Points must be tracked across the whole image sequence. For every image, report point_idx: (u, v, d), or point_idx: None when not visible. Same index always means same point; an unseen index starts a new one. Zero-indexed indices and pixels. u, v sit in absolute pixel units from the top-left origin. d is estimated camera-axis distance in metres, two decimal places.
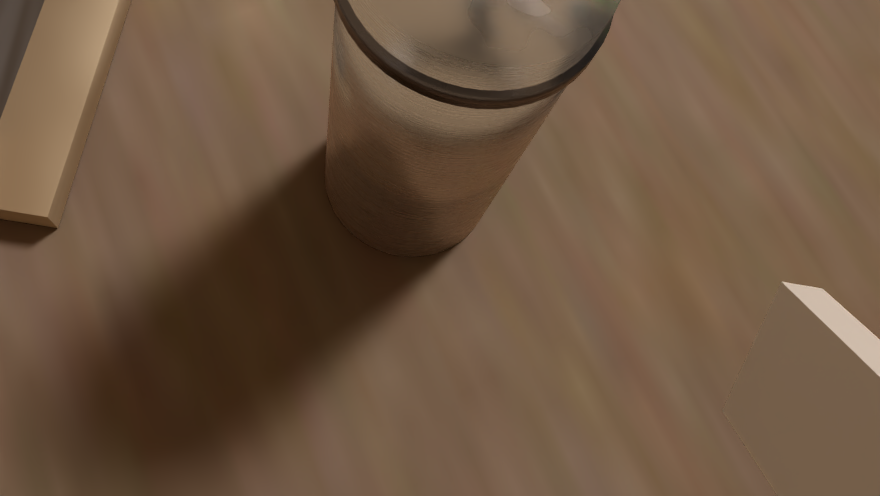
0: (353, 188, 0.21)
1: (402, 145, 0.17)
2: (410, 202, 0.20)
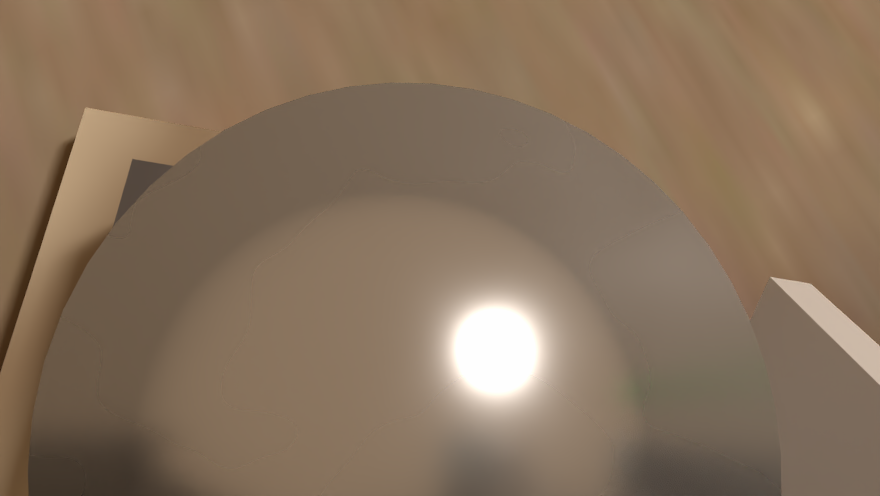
0: None
1: None
2: None
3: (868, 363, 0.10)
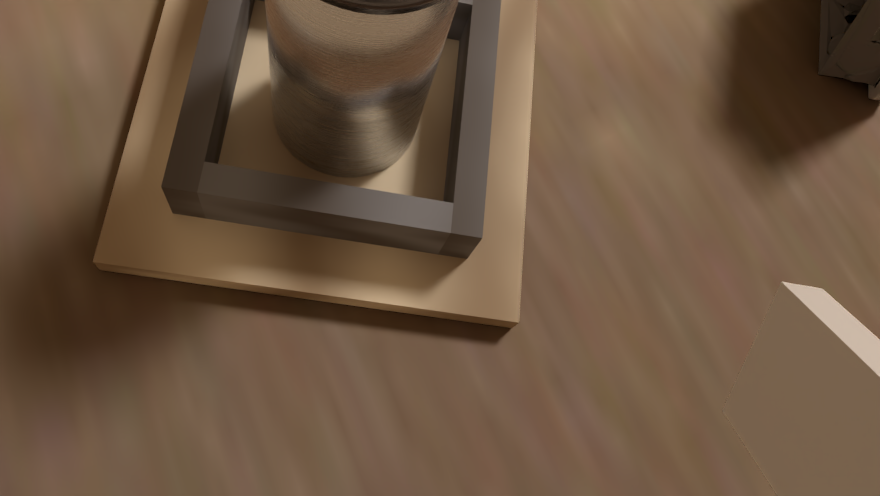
0: (291, 108, 0.25)
1: (321, 56, 0.21)
2: (338, 116, 0.24)
3: None
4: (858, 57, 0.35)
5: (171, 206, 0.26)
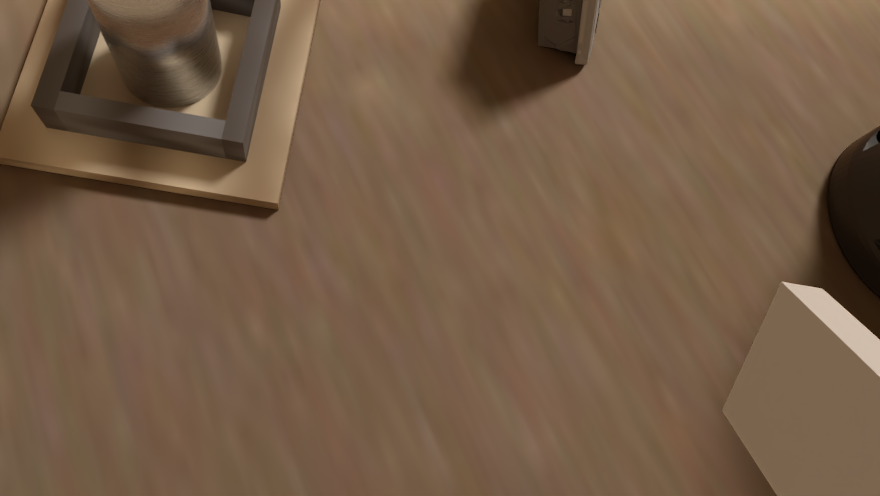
0: (115, 58, 0.39)
1: (112, 21, 0.35)
2: (139, 61, 0.38)
3: None
4: (556, 32, 0.48)
5: (42, 121, 0.40)
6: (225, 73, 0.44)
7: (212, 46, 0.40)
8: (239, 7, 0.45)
